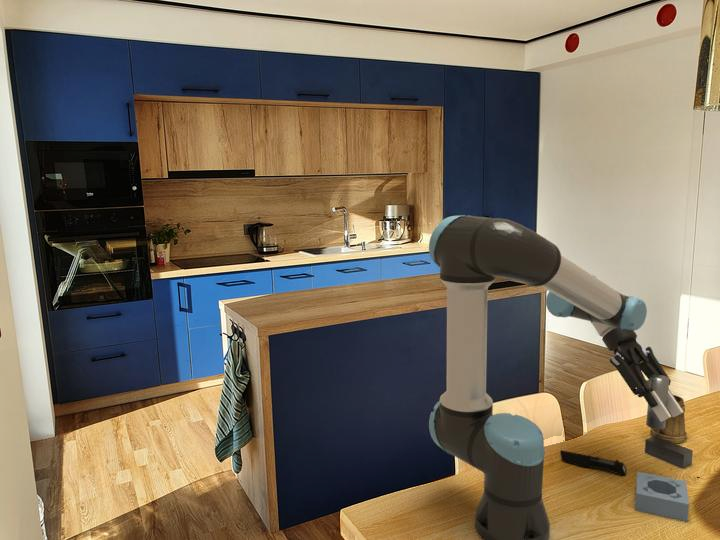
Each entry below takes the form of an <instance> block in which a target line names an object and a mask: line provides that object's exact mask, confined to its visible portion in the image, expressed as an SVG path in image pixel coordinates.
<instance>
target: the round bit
mask: <svg viewBox="0 0 720 540" xmlns="http://www.w3.org/2000/svg"><path fill="white" fill-rule="evenodd" d="M668 377H669V376H668ZM668 377H666V376H663V375H651V376H650V384H649V387H650V389H651V392H652V391H655V392H656V394H657V395H658V397H659V398H660V400H661V401H662V403H663V404H664V406H665V407H666V409H667V400H668V389H669V390H670V388H669V387H670V385H669V379H670V377H669V378H668ZM665 423H666V420H664V421H662V422H661V421H660V420H659V418H658V417H657V415H656V414H655V412H654V411H653V409H652V408H651V407H650V406H649V404H648V403H647V411H646V423H645V425H646V426H647V427H648V428H650V429H651V428H653V429H664V428H665Z"/></svg>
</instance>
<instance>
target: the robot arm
mask: <svg viewBox="0 0 720 540" xmlns="http://www.w3.org/2000/svg"><path fill="white" fill-rule="evenodd" d="M428 252H429V256H430V258H431V260H432V261H433V263H434V264H435V265H436V266H437V267H439V280H440V281H441V282H442V283H443V285H444V286H445V287H446V391H444V393H442V394H441V395H440V397H439V401H437V402H436V404H435V405H434V407H433V411H431V412H430V415H429V421H428V429H429V433H430V436H431V439H432V440H433V442H434V443H435V444H436V446H438V447H439V448H440V449H442V450H443V451H444V452H446V454H449V456H454V457H455V458H457V459H459V460H460V461H462V462H464V463H466V464H468V465H470V466H472V467H473V468H475V469H476V470H478V471H480V472H482V473H483V476H484V477H483V493H482V495H481V497H480V501H479V503H478V505H477V508H476V511H475V515H474V529H475V531H476V533H477V534H478V536H479V538H481V539H482V540H550V533H551V524H550V521H549V520H550V519H549V516H548V513H547V510H546V508H545V504H544V500H543V484H544V483H543V481H544V464H545V461H544V460H545V456H546V451H545V444H544V443H545V441H544V440H545V439H544V434H543V432H542V430H541V428H540V427H539V426H538V425H537V424H536V423H535V422H534V421H533V420H531V419H529V418H527V417H524V416H521V415H519V414H511V412H510V413H507V412H502V413H501V412H500V413H494V411H493V409H494V408H493V407H494V404H493V403H494V401H493V398H492V397H491V396H490V395H489V394H488V393H487V355H488V354H487V352H488V351H487V350H488V349H487V348H488V346H487V345H488V343H487V342H488V300H489V299H488V290H489V287H490V286H491V285H492V284H493V283H495V281H496V278H502V279H507V280H513V281H517V282H521V283H523V284H525V285H526V286H529V287H531V288H538V287H539V288H540V287H541V288H543V289H544V290H546V291H548V292H547V294H546V297H545V298H546V299H545V305H546V308H547V310H548V312H549V313H550V314H551V315H552V316H554V317H555V318H569V317H571V318H575V319H580V320H584V321H588V322H590V323H591V324H592V326H593V328H594V329H595V331H596V332H597V334H598V336H600V337H602V342H603V344H604V345H605V347H606V348H607V350H608V351H610V352H613V354H614V356H613V357H611V358H610V359H609V362H610V364H611V365H612V366H614V368H615V369H616V370H617V372H618V373H619V375H620V376H621V377H622V380H624V382H625V383H626V385H627V387H629V390H631V392H632V394H633V395H634V396H637V397H638V398H644V400H645V401H646V403H647V405H648V404H649V406H650V407H651V408H652V409H653V411H654V412H655V414H656V415H657V417H658V418H659V420H660V421H661V422H662V421H664V420H666V419H668V418H670V417H671V415H672V416H673V417H676V416H678V415H679V414H681V413H683V410H682V409H681V407H680V406H679V404H678V403H677V401H676V400H675V398H674V396H673V395H674V393H672V392H671V390H670V388H669V389H668V400H667V409H668V410H669V412H670V413H671V415H670V413H669V412H668V410H667V409H666V407H665V406H664V404H663V403H662V401H661V400H660V398H659V397H658V395H657V394H656V392H655V391H652V392H651V389H650V387H649V385H648V383H647V381H646V380H650V376H651V375H663V376H666V377H668V378H669V386H670V385H671V382H672V380H671V379H670V377H669V376H668V374H667V372H666V371H665V369H664V368H663V367H662V365H661V364H660V362H659V360H658V359H657V357H656V356H655V354H654V351H653V348H652V346H647V347H642V345H641V344H640V343H638V341H637V338H638V335H637V333H636V332H635V331H638V330H639V329H640V328H641V327H642V326H643V325H644V324H645V321H646V318H647V312H648V309H647V305H646V303H645V301H644V300H643V299H641V298H638V297H634V296H632V295H631V296H629V295H624V294H622V293H620V292H619V291H617V290H616V289H614V288H613V287H611V286H610V285H608V284H607V283H605V282H604V281H602V280H600V279H599V278H598V277H597V276H596V275H594V274H591V273H590V272H588V271H586V270H585V269H583V268H581V267H580V266H579V265H577V264H575V262H573V261H571V260H569V259H568V258H567V257H565V256H563V255H562V253H561V250H560V248H559V247H558V246H557V245H556V244H554V243H553V242H552V241H550V240H548V239H547V238H546V237H544V236H542V235H540V234H538V233H537V232H535V231H534V230H532V229H530V228H529V227H526V226H524V225H523V224H520V223H518V222H515V221H513V220H510V219H507V218H500V217H497V218H494V217H485V216H475V215H469V214H468V215H465V214H462V215H452V216H448V217H445V218H444V219H442V220H441V221H440V222H438V225H437V226H435V227H434V229H433V230H432V232H431V235H430V238H429V244H428ZM645 376H646V378H645ZM493 413H494V414H493Z"/></svg>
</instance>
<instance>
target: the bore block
mask: <svg viewBox="0 0 720 540" xmlns="http://www.w3.org/2000/svg"><path fill="white" fill-rule="evenodd" d="M635 483H636V484H635V502H634V503H635V505H634V511H637V512H642V513H647V514H651V515H656V516H661V517H664V518H665V517H666V518H669V519H675V520H679V521H683V522H688V518H689V508H690V507H689V506H690V503H689V502H690V501H689V493H688V483H687V480H683V479H678V478H672V477H668V476H667V477H666V476H663V475H662V476H661V475H658V474H652V473H646V472H642V471H636V482H635Z"/></svg>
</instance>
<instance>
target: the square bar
mask: <svg viewBox="0 0 720 540" xmlns="http://www.w3.org/2000/svg"><path fill="white" fill-rule="evenodd" d="M644 441H645V443H644V453H645V454H646V455H649V456H651V457H653V458H656V459H659V460H661V461H662V462H665V463H668V464H670V465H673V466H675V467H677V468H679V469H682V470H684V469H686V468H687V467H690V466H692V464H693V452H694V450H692V449H690V448H688V447H685V446H682V445H679V443H673V442H670V441H667V440H665V439H662V438H660V437H657V436H655V435H654V436H652V435H651V436H650V437H648V438H646V439H645V440H644Z"/></svg>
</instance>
